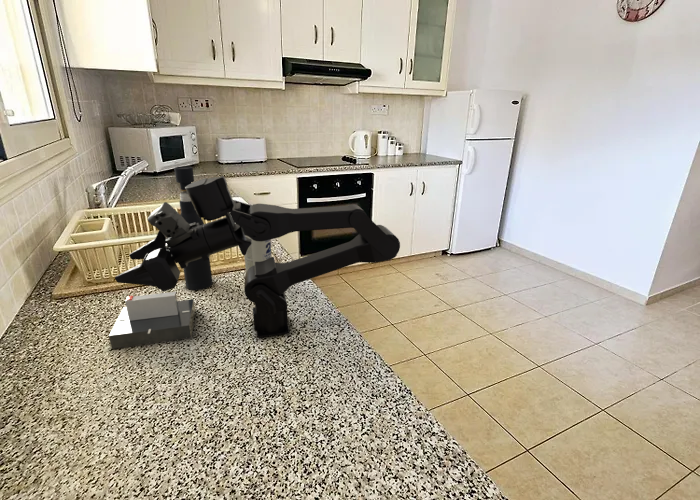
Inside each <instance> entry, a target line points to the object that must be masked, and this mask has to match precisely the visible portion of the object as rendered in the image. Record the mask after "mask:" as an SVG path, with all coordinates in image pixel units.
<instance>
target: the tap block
mask: <svg viewBox="0 0 700 500" xmlns="http://www.w3.org/2000/svg"><path fill="white" fill-rule="evenodd" d="M177 301H178V307H179V313H178V315H173V316H165V317H157V318H149V319H141V320H132V321H129V317H128V313H127V308H126V306H123V307H122V309H121V311H120V312H119V315H118V317H117V319H116V321H115V323H114V325H113V327H112V329H111V331H110V333H109V334H108V340H109V343H110V347H111V350H115V349H123V348H131V347H137V346H144V345H151V344H159V343H166V342H172V341H180V340H187V339H192V335H193V328H194V321H195V316H196V305H195V300H194V298H193V299H185V300H177Z"/></svg>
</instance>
